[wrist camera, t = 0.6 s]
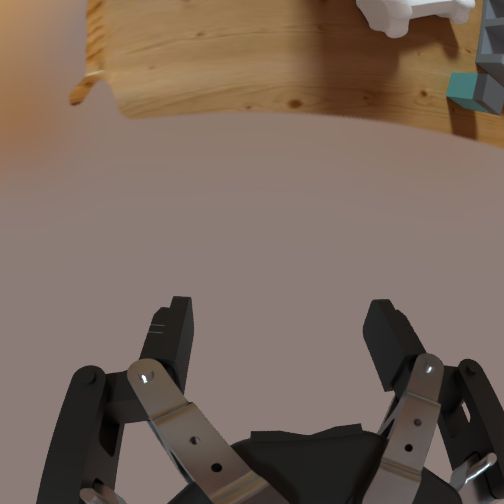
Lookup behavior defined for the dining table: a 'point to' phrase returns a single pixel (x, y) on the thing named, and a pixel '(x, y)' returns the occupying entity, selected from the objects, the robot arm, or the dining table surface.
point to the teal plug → (476, 92)
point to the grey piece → (492, 39)
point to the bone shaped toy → (411, 13)
